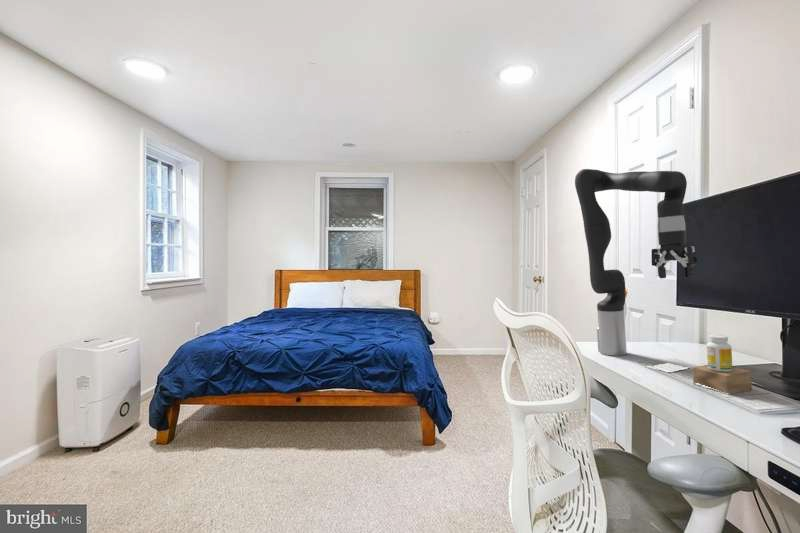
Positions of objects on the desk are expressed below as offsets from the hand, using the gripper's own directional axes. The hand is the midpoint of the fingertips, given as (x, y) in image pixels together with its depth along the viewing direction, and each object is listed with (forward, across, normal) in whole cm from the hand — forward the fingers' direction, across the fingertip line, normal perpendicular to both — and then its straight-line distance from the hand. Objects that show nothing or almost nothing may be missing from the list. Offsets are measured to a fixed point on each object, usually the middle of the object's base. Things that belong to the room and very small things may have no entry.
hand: (674, 278), depth 124 cm
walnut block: (+30, -18, +8) cm, 36 cm away
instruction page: (+30, +1, +4) cm, 30 cm away
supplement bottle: (+25, -18, +8) cm, 32 cm away
